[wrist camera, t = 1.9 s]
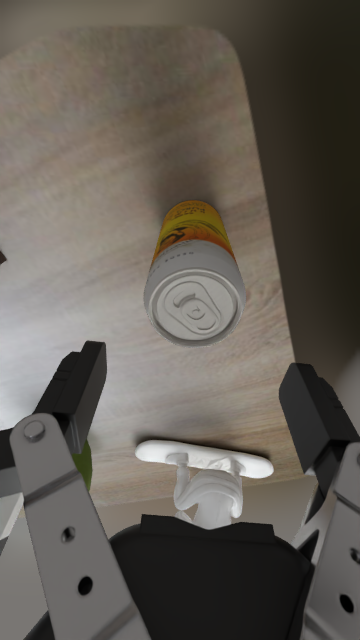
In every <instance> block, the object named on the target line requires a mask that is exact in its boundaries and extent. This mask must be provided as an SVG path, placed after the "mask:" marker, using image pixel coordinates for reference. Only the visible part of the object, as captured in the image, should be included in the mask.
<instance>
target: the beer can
mask: <svg viewBox="0 0 360 640" xmlns="http://www.w3.org/2000/svg"><path fill="white" fill-rule="evenodd" d="M245 303H246V291H245V286H244V283H243V280H242V277H241V274H240V271H239V269H238V266H237V263H236V260H235V257H234V254H233V251H232V248H231V245H230V242H229V240H228V237H227V234H226V231H225V228H224V225H223V222H222V220H221V217H220V215H219V214H218V212H217V211H216V210H215V209H214V208H213V207H212V206H210V205H209V204H207V203H205V202H202V201H197V200H189V201H184V202H181V203H179V204H177V205H176V206H174V207H173V208H172V209H171V210H170V211H169V212H168V213H167V215H166V217H165V219H164V221H163V224H162V228H161V231H160V235H159V238H158V242H157V246H156V249H155V253H154V257H153V260H152V264H151V267H150V271H149V275H148V278H147V282H146V286H145V290H144V306H145V310H146V313H147V315H148V317H149V319H150V321H151V324H152V326H153V327H154V329H155V330H156V331H157V333H158V334H159V335H160V336H162V337H163V338H164V339H165V340H167V341H169V342H171V343H173V344H175V345H178V346H182V347H188V348H201V347H207V346H211V345H214V344H216V343H218V342H220V341H222V340H224V339H225V338H226V337H228V336H229V335H230V334H231V333H232V332H233V331H234V329H235V328H236V326H237V325H238V323H239V321H240V318H241V315H242V313H243V310H244V307H245Z"/></svg>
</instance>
